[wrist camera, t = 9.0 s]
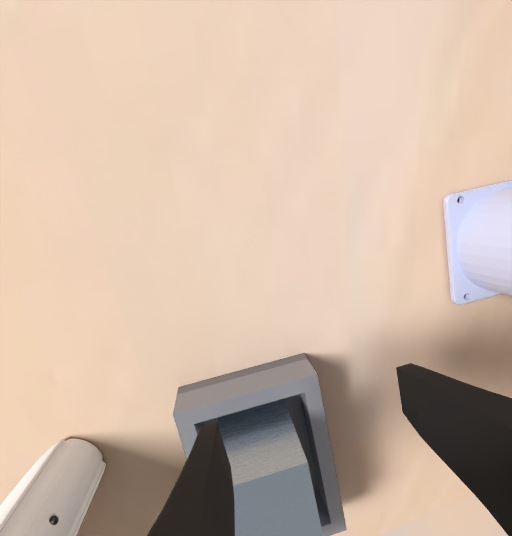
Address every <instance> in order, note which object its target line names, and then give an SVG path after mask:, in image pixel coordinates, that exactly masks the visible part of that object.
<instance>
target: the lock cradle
mask: <svg viewBox="0 0 512 536" xmlns="http://www.w3.org/2000/svg"><path fill="white" fill-rule="evenodd" d="M283 398H284V401H285V404H286V406H287V409H288V412H289V414H290V417H291V419H292V422H293V425H294V427H295V430H296V433H297V435H298V438H299V441H300V443H301V446H302V449H303V451H304V454H305V457H306V459H307V462H308V466H309V471H310V475H311V480H312V485H313V490H314V494H315V499H316V504H317V509H318V513H319V518H320V523H321V528H322V532H323V536H330V535H333V534H336V533H339V532H342V531H345V530H347V529H346V524H345V518H344V513H343V508H342V502H341V497H340V492H339V486H338V481H337V476H336V471H335V465H334V460H333V455H332V449H331V444H330V439H329V433H328V428H327V423H326V418H325V412H324V407H323V402H322V396H321V391H320V386H319V380H318V375H317V373H316V371H315V370H314V368H313V367H312V365H311V363H310V362H309V360H308V359H307V357H306V356H305V354H304V353H303V354H299V355H295V356H292V357H288V358H284V359H281V360H277V361H273V362H270V363H266V364H262V365H259V366H255V367H252V368H248V369H244V370H241V371H237V372H233V373H230V374H226V375H222V376H219V377H215V378H211V379H208V380H204V381H200V382H197V383H193V384H189V385H186V386H182V387H179V388H178V393H177V398H176V402H175V407H174V412H173V416H174V419H175V423H176V426H177V429H178V432H179V435H180V439H181V442H182V445H183V448H184V451H185V455H186V458H187V459H188V456H189V454H190V452H191V449H192V447H193V444H194V442H195V439H196V437H197V434H198V432H199V430H200V428H201V427H202V426H206V425H209V424H212V423H216V422H217V417H221V416H224V415H228V414H231V413H235V412H238V411H242V410H245V409H249V408H252V407H256V406H259V405H263V404H266V403H270V402H273V401H276V400H280V399H283Z"/></svg>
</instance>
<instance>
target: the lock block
mask: <svg viewBox="0 0 512 536" xmlns="http://www.w3.org/2000/svg"><path fill="white" fill-rule="evenodd" d="M217 423H218V426H219V429H220V433H221V436H222V439H223V443H224V446H225V449H226V453H227V456H228V459H229V462H230V466H231V472H232V481H233V490H234V507H235V536H323V532H322V528H321V523H320V518H319V513H318V509H317V504H316V499H315V494H314V490H313V485H312V480H311V475H310V471H309V466H308V462H307V459H306V457H305V454H304V451H303V449H302V446H301V443H300V441H299V438H298V435H297V433H296V430H295V427H294V425H293V422H292V419H291V417H290V414H289V412H288V409H287V406H286V404H285V401H284V398H283V399H280V400H276V401H273V402H270V403H266V404H263V405H259V406H256V407H252V408H249V409H245V410H242V411H238V412H235V413H231V414H228V415H224V416H221V417H217Z"/></svg>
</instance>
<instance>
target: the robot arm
mask: <svg viewBox="0 0 512 536" xmlns="http://www.w3.org/2000/svg"><path fill="white" fill-rule="evenodd" d="M458 197H459V199H460V200H459V203H458V202H457V199H458ZM444 216H445V229H446V242H447V254H448V267H449V280H450V293H451V301H452V302H453V303H455V304H458V305H462V304H465V303H469V302H473V301H476V300H480V299H484V298H487V297H491V296H495V295H498V294H502V293H503V294H506V295H510V296H512V180H510V181H506V182H502V183H497V184H493V185H488V186H484V187H480V188H475V189H471V190H467V191H462V192H458V193H454V194H449V195H447V196H446V197H445V199H444ZM465 294H466V296H465V298H464V295H465ZM396 369H397V376H398V382H399V389H400V396H401V403H402V410H403V413H404V415H405V416H406V417H407V419H408V420H409V421H410V423H411V424H412V426H413V427H414V428H415V430H416V431H417V432H418V434H419V435H420V436H421V437H422V438H423V440H424V441H425V442H426V443H427V444H428V445H429V446H430V447H431V448H432V449H433V450H434V452H435V453H436V454H437V455H438V456H439V457H440V458H441V459H442V460H443V461H444V462H445V463H446V464H447V466H448V467H449V468H450V469H451V470H452V471H453V472H454V473H455V474H456V475H457V476H458V477H459V478H460V479H461V480H462V482H463V483H464V484H465V485H466V486H467V487H468V488H469V489H470V490H471V491H472V492H473V493H474V494H475V496H476V497H477V498H478V499H479V500H480V501H481V502H482V504H484V506H485V507H486V508H487V509H488V510H489V512H490V513H491V514H492V516H493V517H494V518H495V519H496V520H497V522H498V523H499V524H500V526H501V527H502V528H503V529H504V530H505V532H506V533H507V534H508V535H509V536H512V398H509V397H506V396H502V395H499V394H496V393H493V392H490V391H487V390H484V389H481V388H478V387H475V386H472V385H469V384H466V383H464V382H461V381H458V380H455V379H453V378H450V377H447V376H445V375H442V374H439V373H437V372H434V371H431V370H429V369H426V368H423V367H420V366H417V365H414V364H411V363H410V364H407V365H404V366H400V367H397V368H396ZM147 536H235V507H234V490H233V481H232V472H231V466H230V462H229V459H228V456H227V453H226V449H225V446H224V443H223V439H222V436H221V433H220V429H219V426H218V423H217V422H216V423H212V424H209V425H206V426H202V427H201V428H200V430H199V432H198V434H197V437H196V439H195V442H194V444H193V447H192V449H191V452H190V454H189V456H188V459H187V461H186V463H185V465H184V467H183V470H182V472H181V474H180V476H179V478H178V480H177V482H176V484H175V486H174V488H173V490H172V492H171V494H170V496H169V498H168V500H167V502H166V504H165V506H164V508H163V509H162V511H161V513H160V515H159V516H158V518H157V520H156V522H155V523H154V525H153V527H152V528H151V530H150V532H149V533H148V535H147Z"/></svg>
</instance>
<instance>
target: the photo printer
mask: <svg viewBox="0 0 512 536" xmlns="http://www.w3.org/2000/svg"><path fill="white" fill-rule="evenodd" d="M105 467H106V463H105V462H104V461H102V454H101V453H100V451H99V450H98V449H97V448H96V447H95V446H94V445H93V444H91V443H89V442H87V441H84V440H81V439H68V440H66V441H65V440H63V439H61V440H59V441H58V442H57V443H56V444H54V445H53V446H52V447H51V448H50V449H49V450H48V451H47V452H46V453H45V454H44V455H43V456H42V457H41V458H40V459H39V460H38V461H37V462H36V463H35V465H34V466H33V467H32V468H31V469H30V470H29V471H28V473H27V474H26V475H25V476H24V477H23V478H22V480H21V481H20V482H19V483H18V484H17V486H16V487H15V488H14V489H13V491H12V492H11V493H10V494H9V495H8V497H7V498H6V499H5V500H4V502H3V503H2V504H1V505H0V536H77V533H78V531H79V529H80V526H81V524H82V522H83V520H84V517H85V515H86V513H87V510H88V508H89V506H90V503H91V501H92V499H93V496H94V494H95V492H96V489H97V487H98V485H99V483H100V480H101V478H102V476H103V473H104V470H105Z"/></svg>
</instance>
